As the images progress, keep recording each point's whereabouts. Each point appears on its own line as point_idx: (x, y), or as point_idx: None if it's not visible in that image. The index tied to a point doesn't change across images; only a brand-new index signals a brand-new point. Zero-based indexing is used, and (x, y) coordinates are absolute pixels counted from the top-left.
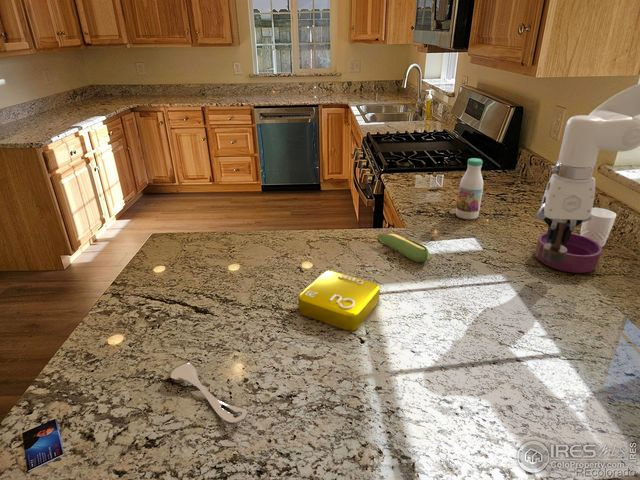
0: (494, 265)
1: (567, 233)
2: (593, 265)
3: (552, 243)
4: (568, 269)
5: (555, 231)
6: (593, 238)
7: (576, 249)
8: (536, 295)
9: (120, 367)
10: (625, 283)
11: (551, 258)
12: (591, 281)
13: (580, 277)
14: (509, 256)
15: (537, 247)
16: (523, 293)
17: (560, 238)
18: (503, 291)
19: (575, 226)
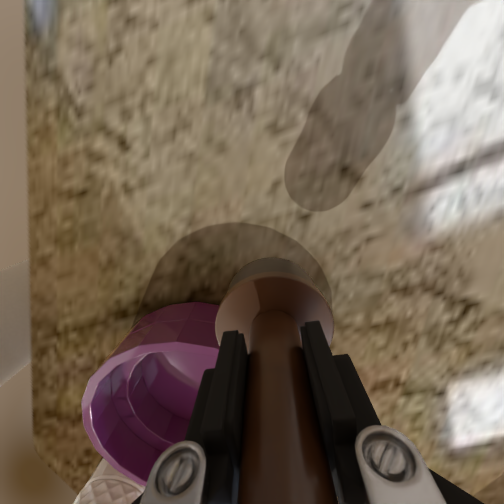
0: (437, 293)
1: (224, 399)
2: (125, 336)
3: (313, 322)
4: (203, 307)
5: (340, 403)
6: (115, 484)
7: (167, 425)
8: (336, 109)
9: None
10: (51, 284)
11: (290, 267)
12: (141, 270)
13: (171, 286)
14: (368, 362)
15: None
16: (383, 109)
17: (267, 363)
18: (462, 99)
19: (141, 499)
